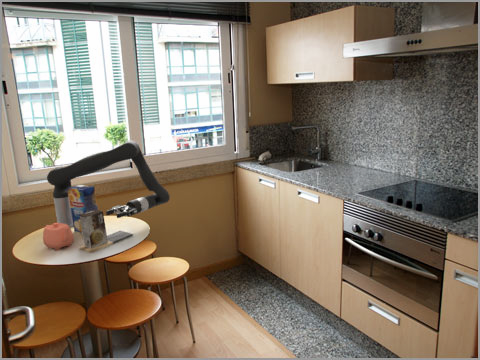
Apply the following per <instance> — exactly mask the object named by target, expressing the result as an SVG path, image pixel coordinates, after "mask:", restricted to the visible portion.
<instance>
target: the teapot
mask: <svg viewBox="0 0 480 360" xmlns="http://www.w3.org/2000/svg"><path fill="white" fill-rule="evenodd" d="M74 238H75V237H74V234H73V231H72V229H71V227H69V226H68V225H67V224H63V223H58V222H54V223H52V224H46V225H45V226H44V228H43V233H42V241H43V244H44V245H45V246H46V247H47V249H54V250H55V252H57V251H60V250H61V248H63V247H70V246H72V243H74V240H75V239H74Z"/></svg>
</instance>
